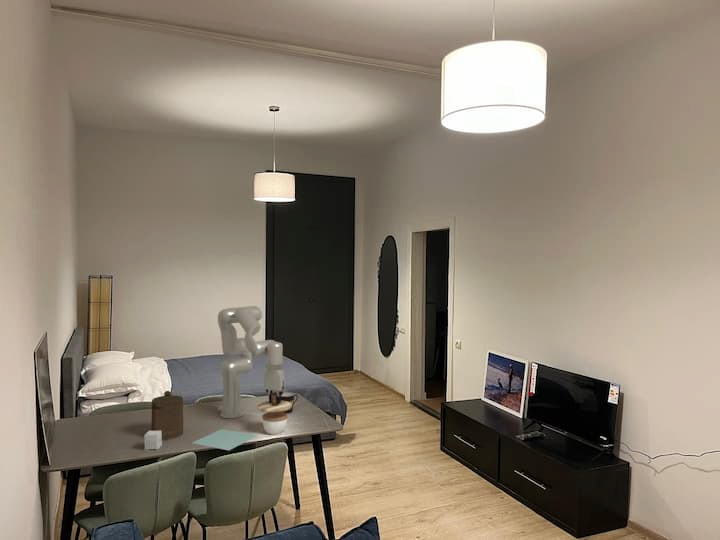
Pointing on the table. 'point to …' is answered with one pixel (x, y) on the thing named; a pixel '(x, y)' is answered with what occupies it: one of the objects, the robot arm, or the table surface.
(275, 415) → the lidded bowl
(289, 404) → the maple lid
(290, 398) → the coffee mug
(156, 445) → the skincare box
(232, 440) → the rubber mat
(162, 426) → the wooden container
